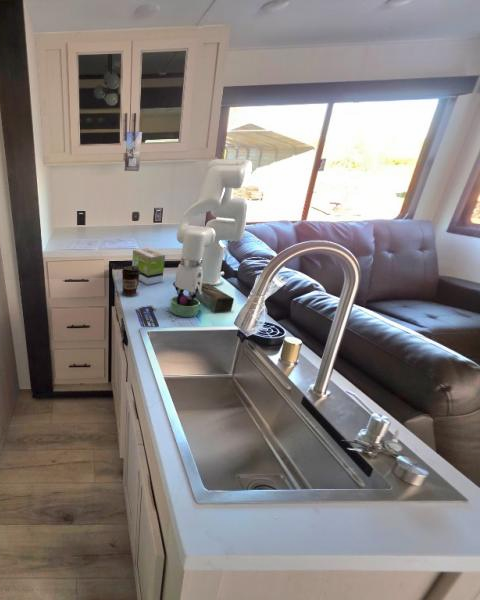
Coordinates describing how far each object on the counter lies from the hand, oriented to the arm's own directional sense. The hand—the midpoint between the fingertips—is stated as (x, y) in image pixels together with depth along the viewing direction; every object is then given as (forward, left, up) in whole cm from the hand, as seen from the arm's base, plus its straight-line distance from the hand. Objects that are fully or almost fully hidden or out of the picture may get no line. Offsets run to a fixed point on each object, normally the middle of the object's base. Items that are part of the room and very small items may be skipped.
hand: (184, 304), depth 129 cm
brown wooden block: (-17, 0, -4) cm, 17 cm away
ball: (0, 0, +2) cm, 2 cm away
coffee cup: (+6, -27, -4) cm, 28 cm away
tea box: (-15, -38, -4) cm, 41 cm away
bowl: (0, 0, -3) cm, 3 cm away
